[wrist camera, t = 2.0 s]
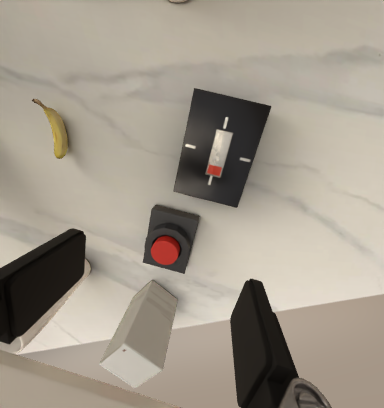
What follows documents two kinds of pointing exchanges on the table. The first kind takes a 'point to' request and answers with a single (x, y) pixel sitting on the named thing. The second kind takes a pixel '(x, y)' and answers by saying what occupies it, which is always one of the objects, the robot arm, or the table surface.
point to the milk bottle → (177, 0)
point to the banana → (56, 130)
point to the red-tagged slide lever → (219, 153)
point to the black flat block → (203, 141)
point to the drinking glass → (42, 319)
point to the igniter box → (171, 234)
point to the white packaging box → (142, 336)
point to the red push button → (165, 250)
